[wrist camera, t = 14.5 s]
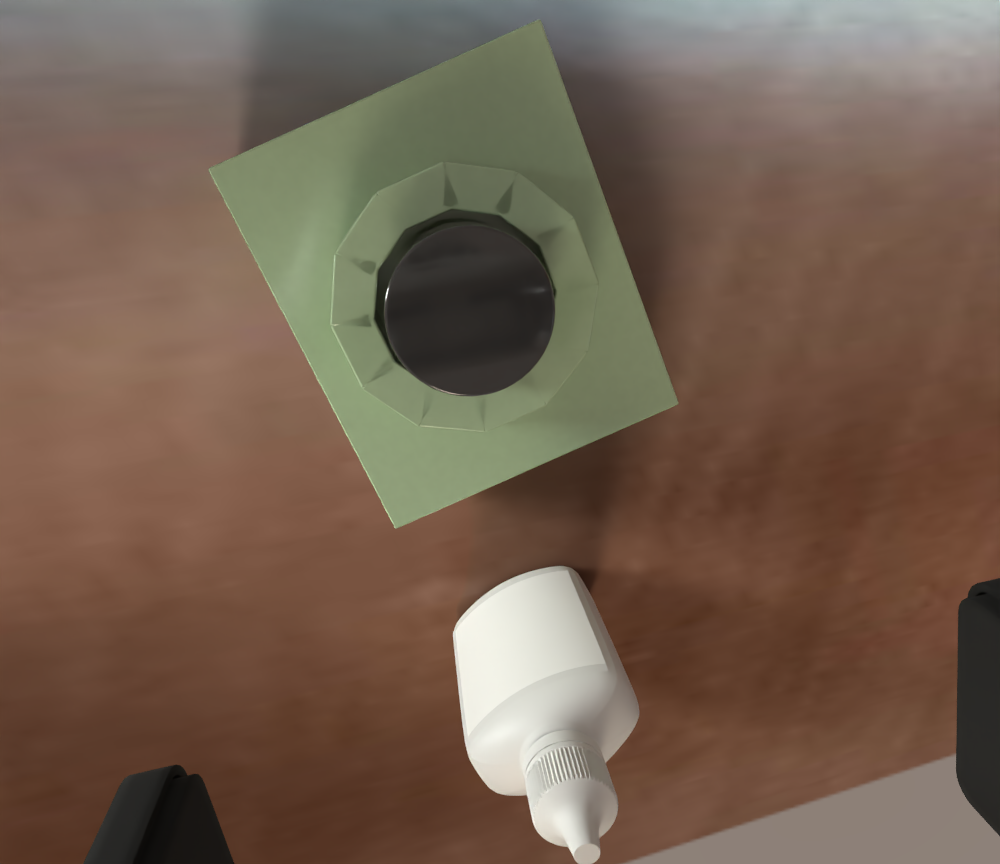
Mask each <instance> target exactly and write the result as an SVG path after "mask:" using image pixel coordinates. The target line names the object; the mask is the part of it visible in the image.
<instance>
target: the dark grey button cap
mask: <svg viewBox="0 0 1000 864" xmlns="http://www.w3.org/2000/svg"><path fill="white" fill-rule="evenodd" d="M384 320H385V328H386V332H387V336H388V339H389V341H390V344H391V346H392V349H393V351H394V352H395V354H396V356H397V358H398V359H399V360H400V362H401V363H402V364H403V366H404V367H405V368H406V369H407V370H408V371H409V372H410V373H411V374H412V375H413V376H414V377H415V378H417V379H418V380H419V381H421V382H422V383H424V384H425V385H427V386H429V387H431V388H433V389H435V390H437V391H440V392H443V393H446V394H450V395H456V396H465V397H474V396H484V395H488V394H492V393H496V392H498V391H501V390H504V389H506V388H508V387H510V386H511V385H513V384H515V383H516V382H518V381H519V380H521V379H522V378H523V377H524V376H526V375H527V374H528V373H529V372H530V371H531V370H532V369H533V368H534V366H535V365H536V364H537V363H538V362H539V360H540V359H541V357H542V356H543V354H544V352H545V350H546V348H547V346H548V344H549V342H550V339H551V336H552V333H553V328H554V323H555V298H554V292H553V288H552V285H551V282H550V279H549V276H548V274H547V272H546V270H545V268H544V267H543V265H542V264H541V262H540V260H539V259H538V258H537V257H536V255H535V254H534V253H533V252H532V251H531V250H530V249H529V248H528V247H527V246H526V245H525V244H524V243H522V242H521V241H519V240H518V239H516V238H515V237H513V236H512V235H510V234H508V233H506V232H504V231H501V230H499V229H497V228H495V227H492V226H489V225H486V224H482V223H477V222H466V221H462V222H452V223H447V224H443V225H440V226H437V227H434V228H432V229H430V230H428V231H426V232H425V233H423V234H421V235H420V236H419V237H417V238H416V239H414V240H413V241H412V242H411V243H410V244H409V245H408V246H407V247H406V248H405V250H404V251H403V252H402V253H401V255H400V256H399V258H398V259H397V261H396V263H395V265H394V267H393V269H392V271H391V274H390V277H389V281H388V284H387V289H386V295H385V302H384Z"/></svg>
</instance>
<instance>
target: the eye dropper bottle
mask: <svg viewBox="0 0 1000 864" xmlns="http://www.w3.org/2000/svg"><path fill="white" fill-rule="evenodd" d="M453 641H454V651H455V660H456V670H457V679H458V689H459V698H460V707H461V716H462V724H463V731H464V738H465V745H466V749H467V753H468V757H469V759H470V761H471V763H472V765H473V766H474V768H475V770H476V771H477V773H478V774H479V776H480V777H481V778H482V780H483V781H484V782H485V784H486V785H487V786H488V787H489V788H490V789H491V790H493V791H494V792H496V793H498V794H503V795H511V796H522V795H527V796H528V801H529V806H530V811H531V816H532V821H533V824H534V826H535V829H536V830H537V832H538V833H539V834H540V836H542V837H543V838H544V839H546V840H547V841H549V842H550V843H553V844H555V845H559V846H564V847H569V849H570V851H571V853H572V855H573V857H574V859H575V861H576V862H577V863H579V864H592V863H594V862H596V861H597V860H598V858H599V857H600V839H599V838H600V837H601V836H603V835H604V834H605V833H606V832H607V831H608V830H609V829H610V827H611V826H612V824H613V823H614V821H615V819H616V816H617V813H618V799H617V795H616V792H615V789H614V786H613V783H612V781H611V778H610V775H609V772H608V769H607V766H606V762H607V761H608V760H609V759H610V758H611V757H612V756H613V755H614V753H615V752H616V751H617V750H618V749H619V748H620V747H621V745H622V744H623V743H624V742H625V740H626V739H627V738H628V736H629V735H630V733H631V732H632V730H633V729H634V727H635V726H636V723H637V720H638V718H639V705H638V701H637V698H636V695H635V693H634V691H633V688H632V686H631V683H630V681H629V679H628V676H627V674H626V672H625V670H624V667H623V665H622V663H621V661H620V658H619V656H618V654H617V652H616V649H615V647H614V645H613V643H612V640H611V638H610V636H609V634H608V631H607V629H606V627H605V625H604V623H603V620H602V618H601V616H600V614H599V611H598V609H597V607H596V605H595V603H594V601H593V599H592V597H591V595H590V593H589V591H588V589H587V588H586V586H585V584H584V583H583V581H582V579H581V577H580V576H579V574H578V573H577V572H576V571H575V570H573V569H572V568H570V567H566V566H553V567H547V568H542V569H538V570H534V571H530V572H527V573H524V574H521V575H518V576H516V577H513V578H511V579H509V580H507V581H505V582H503V583H501V584H500V585H498V586H496V587H495V588H493V589H492V590H490V591H489V592H487V593H486V594H485V595H483V596H482V597H481V598H480V599H478V600H477V601H476V602H475V603H474V604H473V605H472V606H471V607H470V608H469V609H468V610H467V611H466V612H465V613H464V614H463V615H462V617H461V618H460V619H459V621H458V622H457V624H456V626H455V629H454V632H453Z"/></svg>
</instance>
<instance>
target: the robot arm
mask: <svg viewBox="0 0 1000 864" xmlns="http://www.w3.org/2000/svg"><path fill="white" fill-rule="evenodd" d="M956 773H957V778H958V782H959V785H960V787H961V789H962V792H963V793H964V795H965V797H966V798H967V800H968V801H969V803H970V804H971V805H972V806H973V807H974V808H975V809H976V811H977V812H978V813H979V814H980V815H981V816H982V817H983V818H984V819H985V820H986V822H987V823H988V824H989V825H990V826H991V827H992V828H993V829H994V830H995V831H996V832H997V833H998V835H999V836H1000V578H999V579H994V580H990V581H986V582H981V583H977V584H975V585H973V586H972V587H971V589H970V591H969V592H968V598H966V599H964V600H962V601H961V603H960V605H959V611H958V679H957V747H956ZM83 864H234V862H233V859H232V857H231V854H230V851H229V848H228V846H227V843H226V840H225V838H224V835H223V832H222V830H221V827H220V824H219V822H218V819H217V816H216V813H215V811H214V808H213V805H212V803H211V800H210V797H209V795H208V792H207V789H206V786H205V784H204V782H203V780H202V778H201V777H200V776H199V774H192V775H187V773H186V771H185V770H184V769H183V768H182V767H181V766H180V765H173V766H168V767H164V768H160V769H155V770H151V771H146V772H142V773H138V774H133V775H129V776H128V777H126V778H125V779H124V780H123V782H122V783H121V785H120V787H119V789H118V791H117V793H116V795H115V797H114V799H113V801H112V804H111V806H110V808H109V810H108V812H107V814H106V816H105V819H104V821H103V823H102V825H101V827H100V829H99V831H98V833H97V836H96V838H95V840H94V842H93V844H92V846H91V848H90V851H89V853H88V855H87V857H86V859H85V861H84V863H83Z"/></svg>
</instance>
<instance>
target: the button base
mask: <svg viewBox="0 0 1000 864" xmlns="http://www.w3.org/2000/svg"><path fill="white" fill-rule="evenodd" d="M209 173H210V175H211V176H212V178H213V180H214V182H215V184H216V186H217V188H218V190H219V192H220V194H221V196H222V198H223V199H224V201H225V203H226V205H227V207H228V209H229V211H230V213H231V215H232V217H233V219H234V221H235V222H236V224H237V226H238V228H239V230H240V232H241V234H242V236H243V238H244V240H245V242H246V244H247V245H248V247H249V249H250V251H251V253H252V255H253V257H254V259H255V261H256V263H257V265H258V267H259V268H260V270H261V272H262V274H263V276H264V278H265V280H266V282H267V284H268V286H269V288H270V290H271V291H272V293H273V295H274V297H275V299H276V301H277V303H278V305H279V307H280V309H281V311H282V313H283V314H284V316H285V318H286V320H287V322H288V324H289V326H290V328H291V330H292V332H293V334H294V336H295V337H296V339H297V341H298V343H299V345H300V347H301V349H302V351H303V353H304V355H305V357H306V359H307V360H308V362H309V364H310V366H311V368H312V370H313V372H314V374H315V376H316V378H317V380H318V382H319V383H320V385H321V387H322V389H323V391H324V393H325V395H326V397H327V399H328V401H329V403H330V405H331V406H332V408H333V410H334V412H335V414H336V416H337V418H338V420H339V422H340V424H341V426H342V428H343V429H344V431H345V433H346V435H347V437H348V439H349V441H350V443H351V445H352V447H353V449H354V451H355V452H356V454H357V456H358V458H359V460H360V462H361V464H362V466H363V468H364V470H365V472H366V474H367V475H368V477H369V479H370V481H371V483H372V485H373V487H374V489H375V491H376V493H377V495H378V497H379V498H380V500H381V502H382V504H383V506H384V508H385V510H386V512H387V514H388V516H389V518H390V520H391V521H392V523H393V525H394V527H395V528H399V527H401V526H403V525H406V524H408V523H410V522H412V521H415V520H417V519H419V518H421V517H424V516H426V515H428V514H431V513H433V512H435V511H437V510H440V509H442V508H444V507H446V506H449V505H451V504H453V503H456V502H458V501H460V500H462V499H465V498H467V497H469V496H471V495H474V494H476V493H478V492H481V491H483V490H485V489H487V488H490V487H492V486H494V485H496V484H499V483H501V482H503V481H505V480H508V479H510V478H512V477H515V476H517V475H519V474H521V473H524V472H526V471H528V470H530V469H533V468H535V467H537V466H540V465H542V464H544V463H546V462H549V461H551V460H553V459H555V458H558V457H560V456H562V455H564V454H567V453H569V452H571V451H574V450H576V449H578V448H580V447H583V446H585V445H587V444H589V443H592V442H594V441H596V440H599V439H601V438H603V437H605V436H608V435H610V434H612V433H614V432H617V431H619V430H621V429H624V428H626V427H628V426H630V425H633V424H635V423H637V422H639V421H642V420H644V419H646V418H648V417H651V416H653V415H655V414H658V413H660V412H662V411H664V410H667V409H669V408H671V407H673V406H676V405H678V399H677V397H676V394H675V391H674V388H673V386H672V383H671V380H670V377H669V374H668V372H667V369H666V366H665V363H664V361H663V358H662V355H661V352H660V350H659V347H658V344H657V341H656V338H655V336H654V333H653V330H652V327H651V325H650V322H649V319H648V316H647V313H646V311H645V308H644V305H643V302H642V300H641V297H640V294H639V291H638V288H637V286H636V283H635V280H634V277H633V275H632V272H631V269H630V266H629V263H628V261H627V258H626V255H625V252H624V250H623V247H622V244H621V241H620V238H619V236H618V233H617V230H616V227H615V225H614V222H613V219H612V216H611V213H610V211H609V208H608V205H607V202H606V200H605V197H604V194H603V191H602V188H601V186H600V183H599V180H598V177H597V175H596V172H595V169H594V166H593V163H592V161H591V158H590V155H589V152H588V150H587V147H586V144H585V141H584V138H583V136H582V133H581V130H580V127H579V125H578V122H577V119H576V116H575V113H574V111H573V108H572V105H571V102H570V100H569V97H568V94H567V91H566V88H565V86H564V83H563V80H562V77H561V75H560V72H559V69H558V66H557V64H556V61H555V58H554V55H553V52H552V50H551V47H550V44H549V41H548V39H547V36H546V33H545V30H544V27H543V25H542V22H541V20H539V19H538V20H536V21H534V22H531V23H529V24H527V25H525V26H523V27H520V28H518V29H516V30H514V31H511V32H509V33H507V34H505V35H503V36H500V37H498V38H496V39H494V40H492V41H489V42H487V43H485V44H483V45H480V46H478V47H476V48H474V49H472V50H469V51H467V52H465V53H463V54H461V55H458V56H456V57H454V58H452V59H449V60H447V61H445V62H443V63H441V64H438V65H436V66H434V67H432V68H430V69H427V70H425V71H423V72H421V73H418V74H416V75H414V76H412V77H410V78H407V79H405V80H403V81H401V82H399V83H396V84H394V85H392V86H390V87H387V88H385V89H383V90H381V91H379V92H376V93H374V94H372V95H370V96H368V97H365V98H363V99H361V100H359V101H356V102H354V103H352V104H350V105H348V106H345V107H343V108H341V109H339V110H337V111H334V112H332V113H330V114H328V115H325V116H323V117H321V118H319V119H317V120H314V121H312V122H310V123H308V124H306V125H303V126H301V127H299V128H297V129H294V130H292V131H290V132H288V133H286V134H283V135H281V136H279V137H277V138H275V139H272V140H270V141H268V142H266V143H263V144H261V145H259V146H257V147H255V148H252V149H250V150H248V151H246V152H244V153H241V154H239V155H237V156H235V157H232V158H230V159H228V160H226V161H224V162H221V163H219V164H217V165H215V166H213V167H210V168H209ZM462 221H466V222H477V223H482V224H486V225H489V226H492V227H495V228H497V229H499V230H501V231H504V232H506V233H508V234H510V235H512V236H513V237H515V238H516V239H518V240H519V241H521V242H522V243H524V244H525V245H526V246H527V247H528V248H529V249H530V250H531V251H532V252H533V253H534V254H535V255H536V257H537V258H538V259H539V260H540V262H541V264H542V265H543V267H544V268H545V270H546V272H547V274H548V276H549V279H550V282H551V285H552V288H553V292H554V298H555V323H554V328H553V333H552V336H551V339H550V342H549V344H548V346H547V348H546V350H545V352H544V354H543V356H542V357H541V359H540V360H539V362H538V363H537V364H536V365H535V366H534V368H533V369H532V370H531V371H530V372H529V373H528V374H527V375H526V376H524V377H523V378H522V379H521V380H519V381H518V382H516V383H515V384H513V385H511V386H510V387H508V388H506V389H504V390H501V391H498V392H496V393H492V394H488V395H484V396H474V397H465V396H456V395H450V394H446V393H443V392H440V391H437V390H435V389H433V388H431V387H429V386H427V385H425V384H424V383H422V382H421V381H419V380H418V379H417V378H415V377H414V376H413V375H412V374H411V373H410V372H409V371H408V370H407V369H406V368H405V367H404V366H403V364H402V363H401V362H400V360H399V359H398V358H397V356H396V354H395V352H394V351H393V349H392V346H391V344H390V341H389V339H388V336H387V332H386V328H385V320H384V302H385V295H386V289H387V284H388V281H389V277H390V274H391V271H392V269H393V267H394V265H395V263H396V261H397V259H398V258H399V256H400V255H401V253H402V252H403V251H404V250H405V248H406V247H407V246H408V245H409V244H410V243H411V242H412V241H413V240H414V239H416V238H417V237H419V236H420V235H421V234H423V233H425V232H426V231H428V230H430V229H432V228H434V227H437V226H440V225H443V224H447V223H452V222H462Z"/></svg>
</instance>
